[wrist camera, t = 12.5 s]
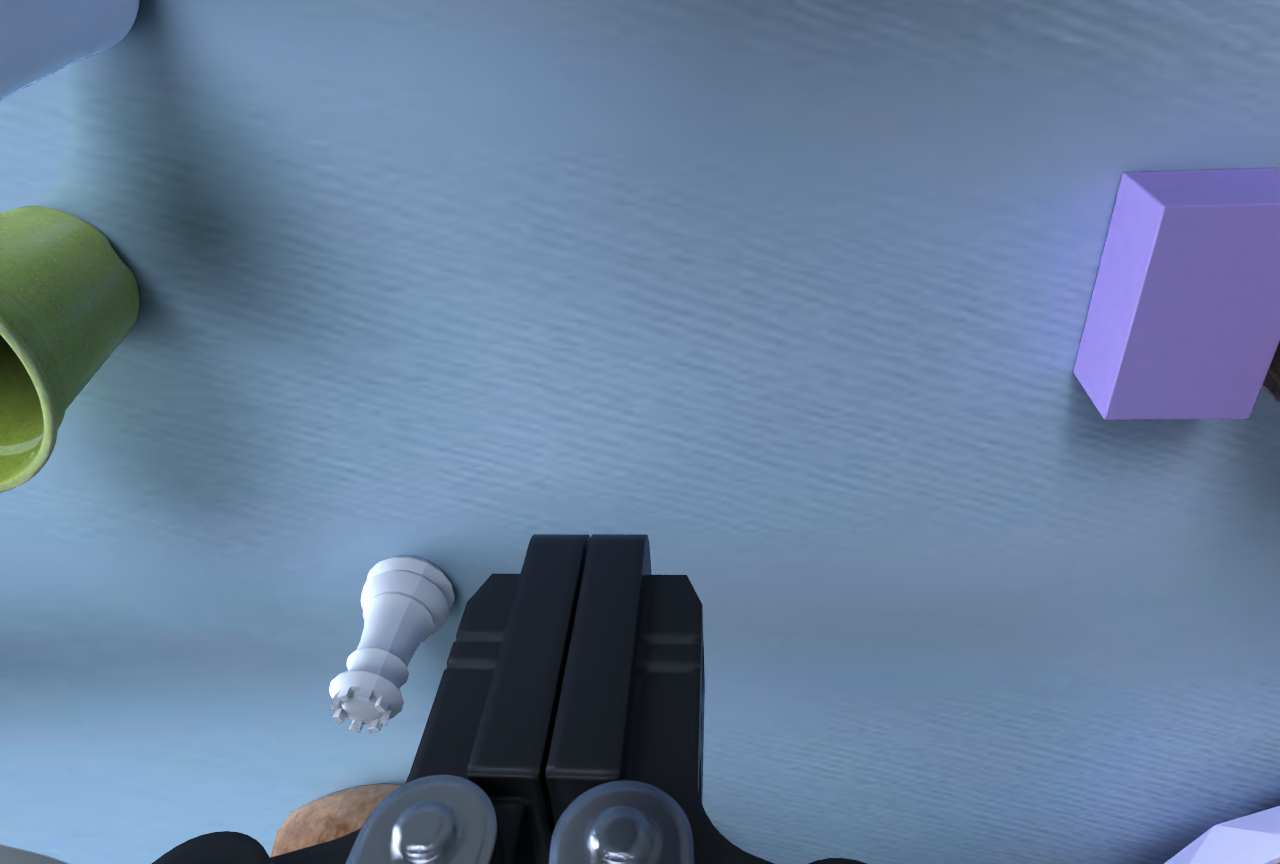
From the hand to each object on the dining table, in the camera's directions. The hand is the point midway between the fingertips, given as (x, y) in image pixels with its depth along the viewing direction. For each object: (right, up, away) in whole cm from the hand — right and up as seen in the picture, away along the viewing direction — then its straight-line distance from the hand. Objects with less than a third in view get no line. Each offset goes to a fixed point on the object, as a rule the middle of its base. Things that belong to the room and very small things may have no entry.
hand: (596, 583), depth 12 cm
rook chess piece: (-11, -5, +33) cm, 35 cm away
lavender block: (+20, +8, +21) cm, 30 cm away
